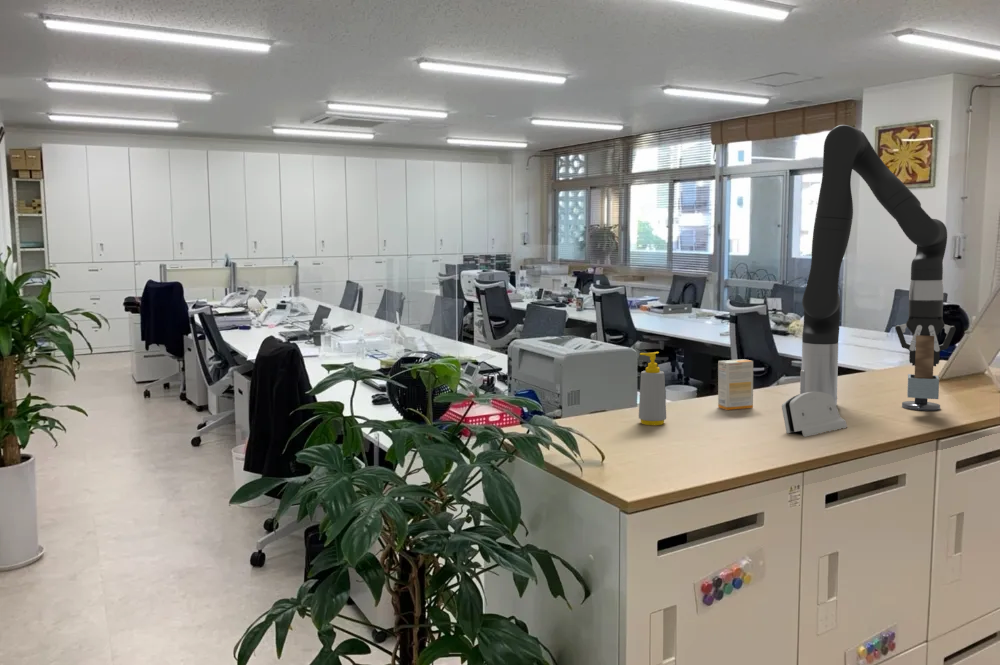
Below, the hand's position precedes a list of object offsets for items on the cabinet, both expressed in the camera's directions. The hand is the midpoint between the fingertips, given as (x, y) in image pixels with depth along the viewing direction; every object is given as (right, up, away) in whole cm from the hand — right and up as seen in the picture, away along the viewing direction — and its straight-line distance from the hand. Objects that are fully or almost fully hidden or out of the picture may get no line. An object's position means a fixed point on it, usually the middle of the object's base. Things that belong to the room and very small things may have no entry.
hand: (923, 365), depth 194 cm
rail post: (0, -4, 0) cm, 4 cm away
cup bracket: (+3, -12, +7) cm, 14 cm away
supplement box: (-43, -13, +15) cm, 48 cm away
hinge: (-33, -15, -12) cm, 39 cm away
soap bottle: (-70, -15, -3) cm, 71 cm away
